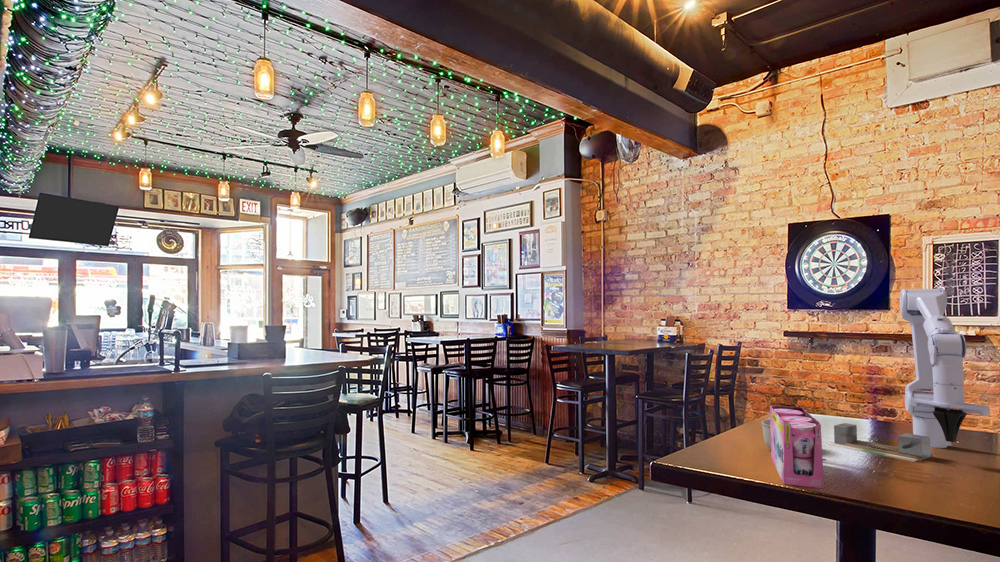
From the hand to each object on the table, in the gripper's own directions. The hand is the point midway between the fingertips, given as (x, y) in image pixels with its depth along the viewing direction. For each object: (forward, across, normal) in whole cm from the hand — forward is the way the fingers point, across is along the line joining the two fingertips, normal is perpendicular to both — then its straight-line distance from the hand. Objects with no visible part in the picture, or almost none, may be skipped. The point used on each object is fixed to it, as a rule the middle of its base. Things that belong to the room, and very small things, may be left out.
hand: (950, 441), depth 128 cm
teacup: (+7, -32, -17) cm, 36 cm away
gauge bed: (+7, -16, 0) cm, 17 cm away
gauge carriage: (+5, -8, -2) cm, 9 cm away
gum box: (+7, -19, -34) cm, 39 cm away
